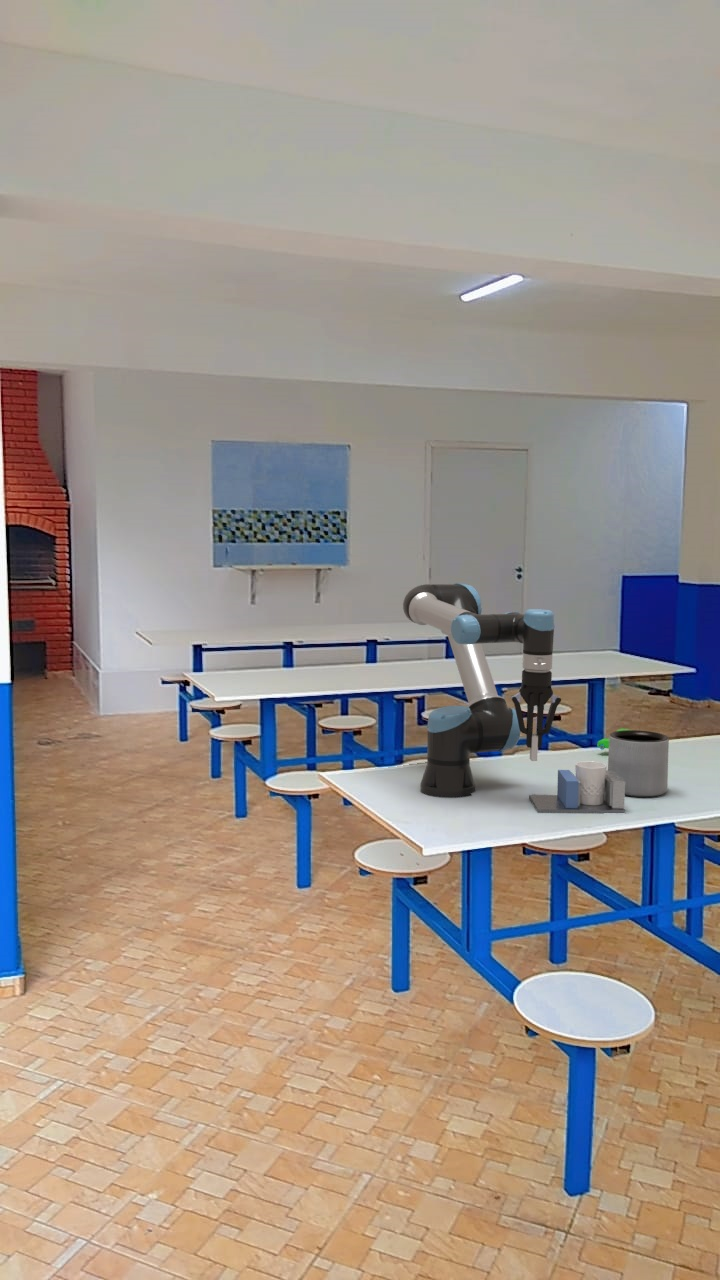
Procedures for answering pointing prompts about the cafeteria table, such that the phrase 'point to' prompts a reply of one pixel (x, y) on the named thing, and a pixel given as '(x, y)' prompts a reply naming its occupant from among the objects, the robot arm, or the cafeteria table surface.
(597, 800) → the white cup
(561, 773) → the sliding jaw
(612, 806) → the fixed jaw
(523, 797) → the cafeteria table surface
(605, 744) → the toy car
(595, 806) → the vise bed
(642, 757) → the planter
